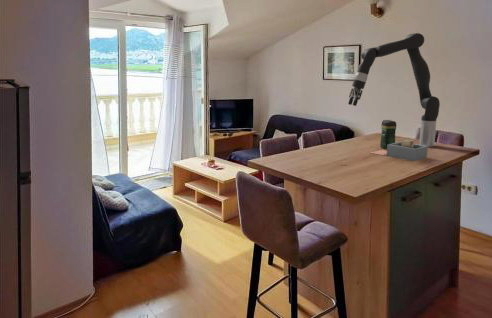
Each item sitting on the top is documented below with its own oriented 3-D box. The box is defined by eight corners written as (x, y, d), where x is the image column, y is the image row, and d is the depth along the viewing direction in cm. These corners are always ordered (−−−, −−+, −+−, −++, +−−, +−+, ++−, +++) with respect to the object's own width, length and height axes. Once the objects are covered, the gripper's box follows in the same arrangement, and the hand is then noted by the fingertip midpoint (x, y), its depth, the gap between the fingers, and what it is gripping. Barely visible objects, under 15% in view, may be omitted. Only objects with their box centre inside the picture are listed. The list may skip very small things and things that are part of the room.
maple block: (405, 150, 249) (406, 139, 248) (412, 151, 246) (413, 140, 244) (400, 151, 246) (401, 140, 245) (408, 153, 243) (409, 141, 241)
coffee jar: (396, 149, 268) (399, 120, 264) (385, 149, 267) (387, 121, 262) (388, 146, 277) (390, 118, 273) (378, 147, 276) (379, 119, 271)
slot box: (399, 152, 258) (400, 141, 256) (426, 157, 244) (427, 146, 242) (386, 156, 249) (387, 144, 248) (414, 161, 236) (415, 149, 234)
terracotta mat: (381, 150, 264) (381, 149, 264) (393, 152, 258) (393, 152, 257) (370, 153, 257) (370, 152, 257) (382, 155, 250) (382, 154, 250)
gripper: (369, 82, 255) (361, 107, 258) (361, 81, 269) (353, 105, 272) (358, 79, 254) (350, 104, 257) (350, 78, 268) (343, 102, 271)
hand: (351, 105), depth 264 cm, fingers open, 8 cm apart
